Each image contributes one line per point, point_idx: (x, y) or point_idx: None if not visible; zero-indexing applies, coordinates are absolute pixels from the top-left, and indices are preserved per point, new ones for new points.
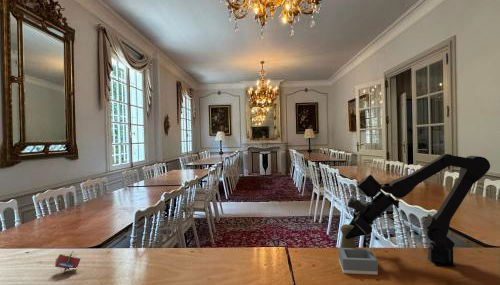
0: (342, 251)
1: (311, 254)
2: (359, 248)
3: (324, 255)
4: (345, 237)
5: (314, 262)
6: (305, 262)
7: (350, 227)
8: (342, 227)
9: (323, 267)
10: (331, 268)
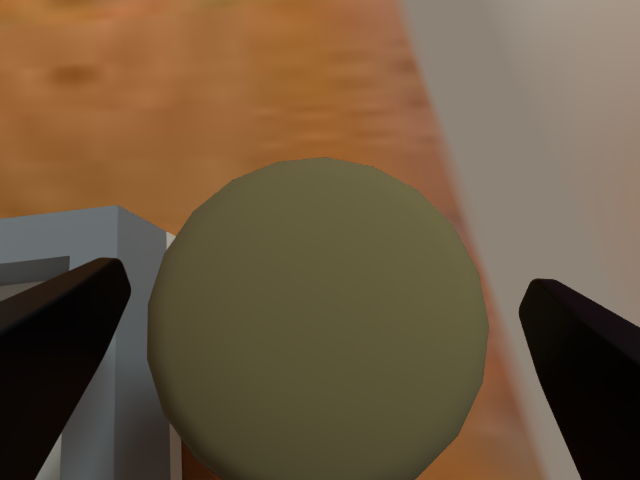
0: (5, 242)
1: (265, 48)
2: (107, 445)
3: (261, 132)
4: (100, 264)
5: (119, 77)
6: (115, 26)
7: (164, 381)
8: (236, 179)
9: (38, 135)
10: (23, 186)
